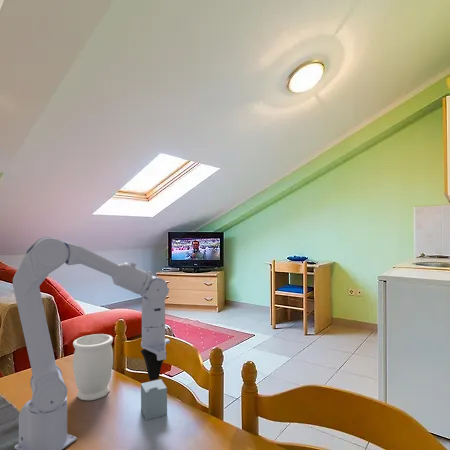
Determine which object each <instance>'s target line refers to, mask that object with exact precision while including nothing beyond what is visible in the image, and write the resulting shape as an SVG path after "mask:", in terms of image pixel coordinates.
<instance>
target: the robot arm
mask: <svg viewBox="0 0 450 450" xmlns="http://www.w3.org/2000/svg"><path fill="white" fill-rule="evenodd" d="M64 264H65V265H68V266H74V265H75V266H76V265H83V266H85V267H88V268H90V269H92V270H95V271H98V272H100V273H102V274H105V275H107V276H109V277H111V279H112V282H113V284H114V285H115V286H118V287H120V288H123V290H124V289H125V290H127V291H130V292H131V293H134V294H137V295H140V296H141V342H140V347H141V348H142V349H141V350H140V353H141V355H142V356H143V359H144V361H145V362H144V363H145V366H146V371H147V376H148V378H149V382H150V381H155V380H159V378H160V376H161V375H160V374H161V370H162V366H163V363H164V360H167V353H168V352H167V350H166V346H167V344H170V343H171V341H170V339H169V338H168V337H167V338H166V298H167V297H168V295H169V292H170V288H169V287H168V284H167V283H166V280H165V279H162V278H161V277H158V276H155V275H154V274H153V272H152V271H150V270H148V271H145V270H144V269H141V268H140V267H137V264H136V263H134V262H132V261H130V262H128V261H127V262H125V261H124V262H121V263H115V262H114V261H112V260H109V259H107V258H105V257H104V256H102V255H99V254H98V253H95V252H94V251H91V250H90V249H87V248H86V247H83V246H80V245H77V244H74V243H70V242H67V241H62V240H60V239H58V238H55V237H51V236H46V237H45V236H44V237H41V238H39V239H37V240H36V241H35V242H34V243H33V244H31V246H29V247H28V249H27V250H26V251H25V254H24V256H23V258H22V259H21V262H20V264H19V266H18V268H17V270H16V271H15V274H14V276H13V278H12V287H13V291H14V292H13V293H14V296H15V297H14V298H15V302H16V305H17V309H18V310H17V311H18V315H19V319H20V323H21V328H22V333H23V337H24V342H25V346H26V350H27V355H28V359H29V364H30V368H31V373H32V374H31V377H30V388H31V394H32V395H31V399H29V400H28V401H26V403H24V405H22V408H21V409H20V412H19V414H18V443H17V444H15V445H14V450H64V449H65V448H66V447H68V446H69V445H71V444H72V443H74V442H75V441H76V440H77V437H76V436H74V435H73V434H69V433H68V387H67V385H66V383H65V380H64V377H63V371H62V370H61V368H60V367H59V366H58V365H57V363H56V358H55V354H54V348H53V345H52V340H51V334H50V331H49V326H48V321H47V316H46V312H45V306H44V303H43V298H42V292H41V289H40V286H41V285H42V283H43V282H44V281H45V280H46V279H47V277H48V276H49V275H50V274H51V273H52V272H54V271H56V270H57V269H58V268H60V267H61V266H63V265H64Z"/></svg>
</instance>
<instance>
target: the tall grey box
mask: <svg viewBox="0 0 450 450" xmlns="http://www.w3.org/2000/svg"><path fill="white" fill-rule="evenodd" d="M140 410H141V413H142V415H143V417H144V420H145V421H148V420H153V419H155V418H159V417H162V416H163V417H164V416H167V415H168V387H167V386H166V384H165V383H164V381H163V379H162V378H161V379H159V378H158V379H156V380H152V381H150V380H149V381H146V382H142V383H140Z"/></svg>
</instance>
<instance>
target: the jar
mask: <svg viewBox="0 0 450 450" xmlns="http://www.w3.org/2000/svg"><path fill="white" fill-rule="evenodd" d="M113 341H114V337H113V336H112V335H111V334H106V333H105V334H104V333H92V334H89V335H83V336H81V337H78V338H76V339H74V341H73V342H72V346H73V348H74V351H73V359H72V369H73V375H74V381H75V385H76V387H77V389H78V391H77V394H76V396H77V398H78V399H79V400H81V401H95V400H99V399H102V398H104V397H105V396H107V395H108V394H109V392H110V387H109V384H110V381H111V377H112V371H113V367H114V366H113V365H114V351H113V347H112V343H113Z"/></svg>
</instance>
